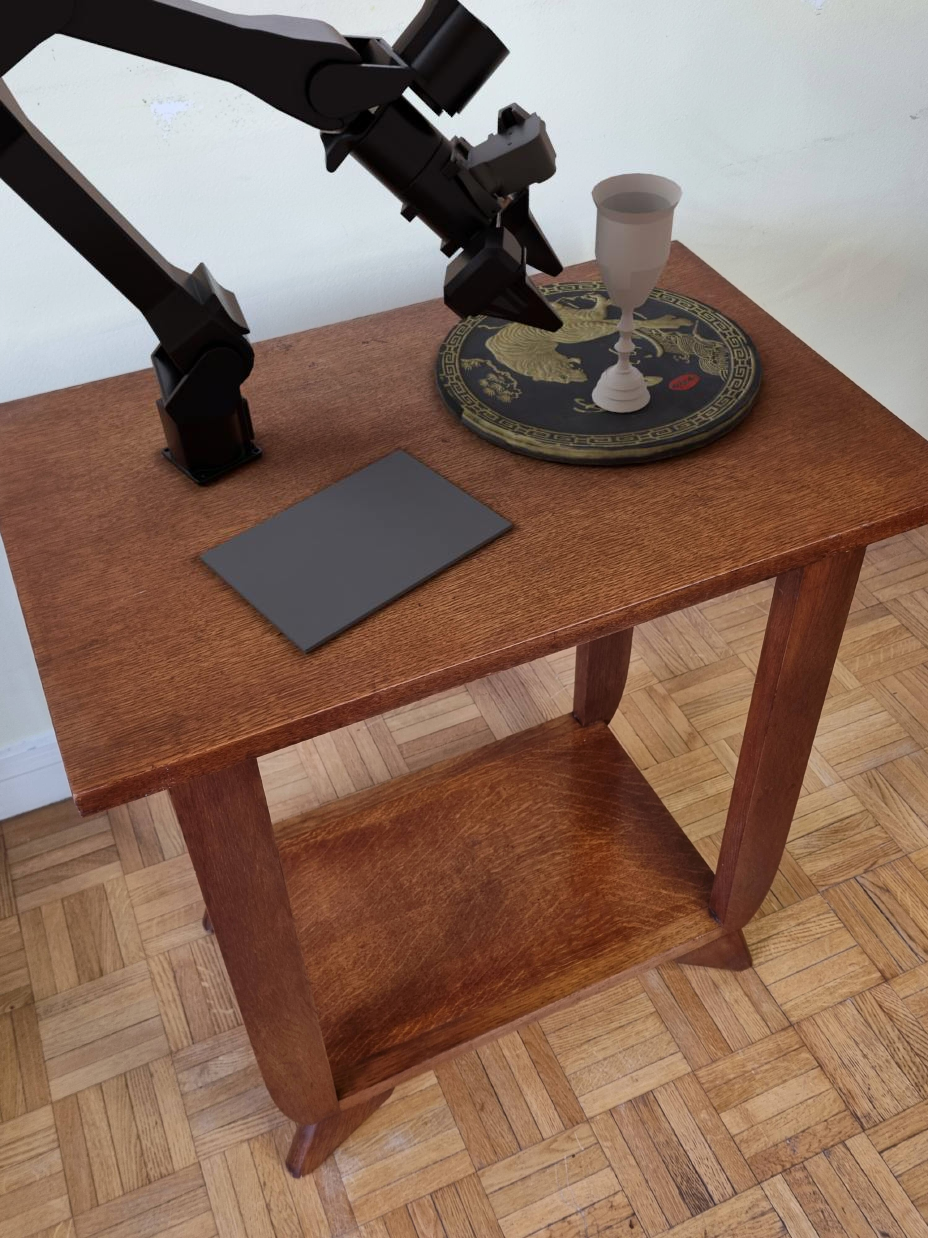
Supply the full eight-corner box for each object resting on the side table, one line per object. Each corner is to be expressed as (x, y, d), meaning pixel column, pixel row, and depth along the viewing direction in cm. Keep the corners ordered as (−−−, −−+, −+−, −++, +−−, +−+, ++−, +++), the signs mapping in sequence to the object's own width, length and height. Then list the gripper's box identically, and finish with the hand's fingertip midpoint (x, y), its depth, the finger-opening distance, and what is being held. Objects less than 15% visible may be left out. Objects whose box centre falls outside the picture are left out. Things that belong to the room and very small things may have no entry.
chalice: (598, 367, 99) (610, 167, 86) (671, 382, 96) (694, 179, 84) (569, 409, 94) (577, 205, 81) (645, 426, 92) (665, 219, 79)
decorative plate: (835, 372, 96) (565, 495, 85) (831, 391, 98) (565, 514, 87) (619, 251, 115) (374, 339, 104) (618, 268, 116) (376, 356, 105)
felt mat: (305, 654, 77) (305, 650, 76) (200, 559, 84) (199, 555, 84) (512, 527, 86) (512, 523, 85) (400, 452, 93) (400, 448, 93)
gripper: (485, 133, 71) (641, 290, 78) (497, 42, 85) (629, 182, 92) (377, 248, 77) (530, 384, 84) (403, 145, 91) (534, 270, 98)
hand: (559, 299), depth 89 cm, fingers open, 9 cm apart
